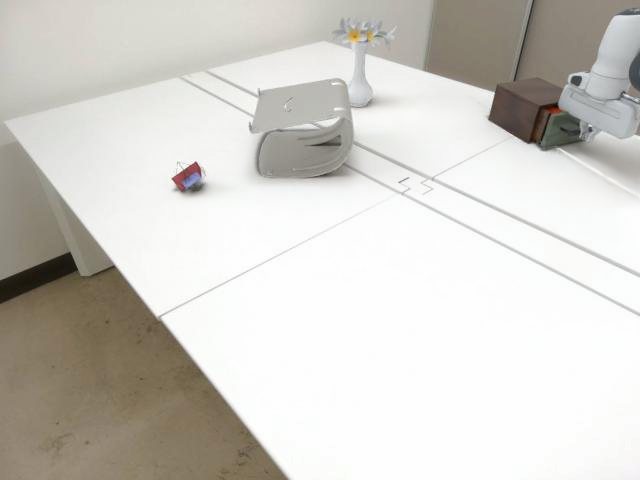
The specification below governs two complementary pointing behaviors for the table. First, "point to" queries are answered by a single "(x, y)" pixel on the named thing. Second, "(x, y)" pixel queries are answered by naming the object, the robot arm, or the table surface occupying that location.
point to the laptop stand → (295, 147)
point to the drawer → (556, 128)
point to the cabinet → (522, 105)
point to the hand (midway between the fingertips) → (585, 140)
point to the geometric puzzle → (189, 176)
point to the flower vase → (361, 54)
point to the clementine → (553, 110)
